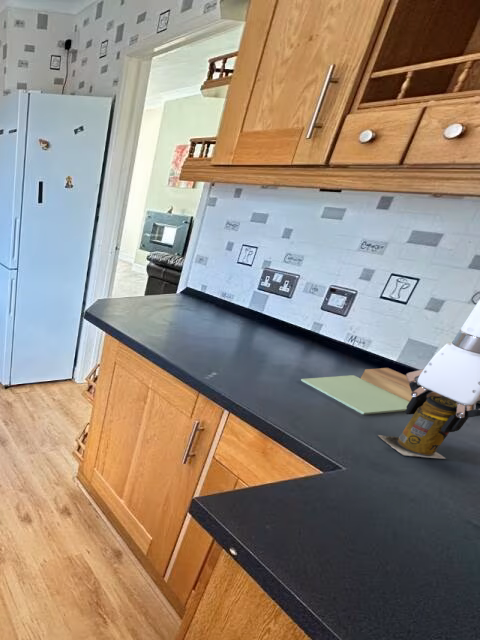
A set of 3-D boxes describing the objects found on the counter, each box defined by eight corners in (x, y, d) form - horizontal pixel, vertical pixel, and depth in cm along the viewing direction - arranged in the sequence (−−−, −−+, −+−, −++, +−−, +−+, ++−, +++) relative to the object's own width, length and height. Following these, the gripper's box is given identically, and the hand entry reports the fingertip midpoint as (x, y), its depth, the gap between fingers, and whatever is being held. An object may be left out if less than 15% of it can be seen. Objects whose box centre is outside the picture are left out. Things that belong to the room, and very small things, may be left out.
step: (381, 378, 121) (388, 367, 119) (436, 403, 109) (444, 391, 107) (359, 380, 120) (365, 369, 118) (412, 405, 108) (419, 393, 106)
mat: (352, 376, 121) (353, 375, 121) (420, 409, 106) (422, 407, 106) (300, 380, 118) (301, 378, 118) (363, 414, 103) (364, 412, 103)
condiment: (445, 459, 88) (480, 411, 82) (402, 455, 88) (434, 408, 83) (416, 439, 94) (446, 393, 89) (376, 436, 95) (404, 390, 89)
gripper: (560, 363, 72) (493, 445, 81) (444, 327, 87) (399, 400, 96) (528, 365, 71) (464, 448, 80) (416, 328, 86) (372, 402, 95)
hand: (429, 421), depth 88 cm, fingers closed on condiment, 6 cm apart
